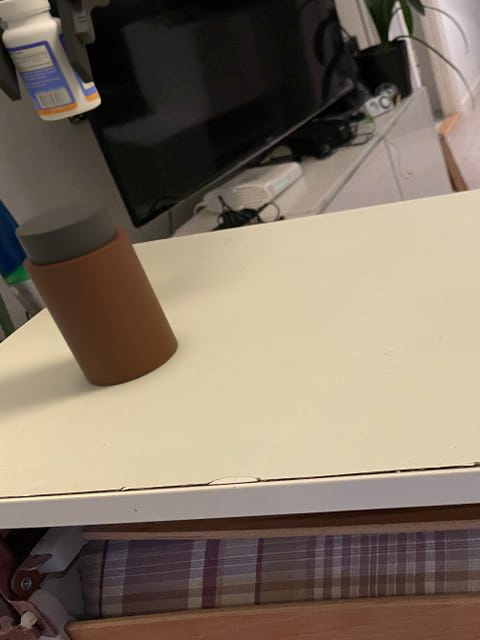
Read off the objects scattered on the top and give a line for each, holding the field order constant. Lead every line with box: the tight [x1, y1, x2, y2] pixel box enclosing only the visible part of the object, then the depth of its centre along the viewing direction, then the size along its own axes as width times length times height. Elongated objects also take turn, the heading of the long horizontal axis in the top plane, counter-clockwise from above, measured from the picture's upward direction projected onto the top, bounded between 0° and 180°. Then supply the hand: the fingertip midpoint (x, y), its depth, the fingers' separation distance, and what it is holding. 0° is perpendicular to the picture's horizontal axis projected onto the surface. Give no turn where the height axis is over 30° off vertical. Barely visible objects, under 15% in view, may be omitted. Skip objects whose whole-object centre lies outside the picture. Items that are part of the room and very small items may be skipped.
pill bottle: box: [0, 0, 102, 121], centre depth 68 cm, size 5×5×10 cm
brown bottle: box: [14, 199, 179, 387], centre depth 64 cm, size 8×8×14 cm
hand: (45, 81), depth 65 cm, fingers closed on pill bottle, 5 cm apart
